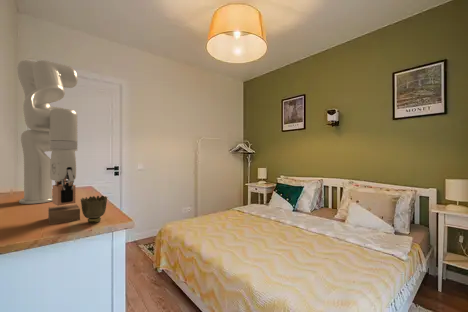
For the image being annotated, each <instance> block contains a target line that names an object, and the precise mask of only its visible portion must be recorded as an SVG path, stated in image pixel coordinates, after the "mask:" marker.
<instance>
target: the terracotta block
mask: <svg viewBox="0 0 468 312" xmlns="http://www.w3.org/2000/svg"><path fill="white" fill-rule="evenodd" d="M61 190H62V185H55V184H52V196H53V201H52V204H54V205H55V206H56V207H57V206H66V205H73V204H76V184H73V201H72V202H65V203H62V202H61Z"/></svg>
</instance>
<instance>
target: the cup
mask: <svg viewBox="0 0 468 312" xmlns="http://www.w3.org/2000/svg"><path fill="white" fill-rule="evenodd" d="M107 201H108V196H104V195H101V196H99V195H96V196H95V195H93V196H91V195H90V196H89V197H87V196H86V197H85V198H84V197H82V198H80V204H81V212H82V215H83V216H84V217H85V218H87V222H88V223H89V224H98V223H99V222H101V220H102V217H103V216H104V214H105V213H106V210H107Z"/></svg>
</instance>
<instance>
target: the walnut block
mask: <svg viewBox="0 0 468 312" xmlns="http://www.w3.org/2000/svg"><path fill="white" fill-rule="evenodd" d="M47 209H48V210H47V211H48V224H49V225H55V224H60V223H68V222H69V223H70V222H74V221H75V222H76V221H81V207H79V205H78V204H77V203H74V204H65V205H58V206H57V205H56V206H51V207H49V206H48V208H47Z"/></svg>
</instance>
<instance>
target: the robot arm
mask: <svg viewBox="0 0 468 312" xmlns="http://www.w3.org/2000/svg"><path fill="white" fill-rule="evenodd" d="M16 69H17V77H18V81H19V83H20V85H21V87H22V90H23V93H24V101H23V104H22V105H23V108H22V109H23V116H24V122H25V125H26V127H27V128H28V129H26V130H25V131H23V132H22V133H21V135H20V142H21V148H22V153H23V198H21V199H19V201H18V202H19V204H21V205H31V204H32V205H33V204H36V205H37V204H44V203H49V202H53V181H54V185H62V190H61V202H62V203H65V202H72V201H73V185H74V183H75V180H76V178H77V161H76V159H77V157H76V152H77V151H78V113H77V111H76V110H73V109H68V108H63V107H58V106H51V104H52V103H56V102H58V101H61V100H62V99H63V98H64V97H65V94H66V91H65V88H66V89H67V88H70V89H71V88H74V87H76V86H77V84H78V80H79V79H78V77H79V76H78V73H77V71H76V70H75V68H73V67H72V66H70V65H66V64H61V63H57V62H54V61H50V60H37V61H34V60H21V61H19V62H18V63H17V68H16ZM45 152H46V153H47V152H51V154H50V156H49V155H47V154H46V153H45Z"/></svg>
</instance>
